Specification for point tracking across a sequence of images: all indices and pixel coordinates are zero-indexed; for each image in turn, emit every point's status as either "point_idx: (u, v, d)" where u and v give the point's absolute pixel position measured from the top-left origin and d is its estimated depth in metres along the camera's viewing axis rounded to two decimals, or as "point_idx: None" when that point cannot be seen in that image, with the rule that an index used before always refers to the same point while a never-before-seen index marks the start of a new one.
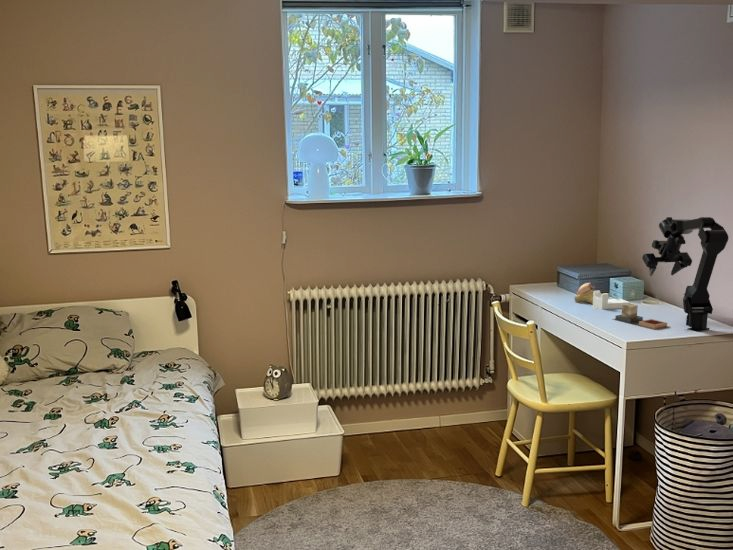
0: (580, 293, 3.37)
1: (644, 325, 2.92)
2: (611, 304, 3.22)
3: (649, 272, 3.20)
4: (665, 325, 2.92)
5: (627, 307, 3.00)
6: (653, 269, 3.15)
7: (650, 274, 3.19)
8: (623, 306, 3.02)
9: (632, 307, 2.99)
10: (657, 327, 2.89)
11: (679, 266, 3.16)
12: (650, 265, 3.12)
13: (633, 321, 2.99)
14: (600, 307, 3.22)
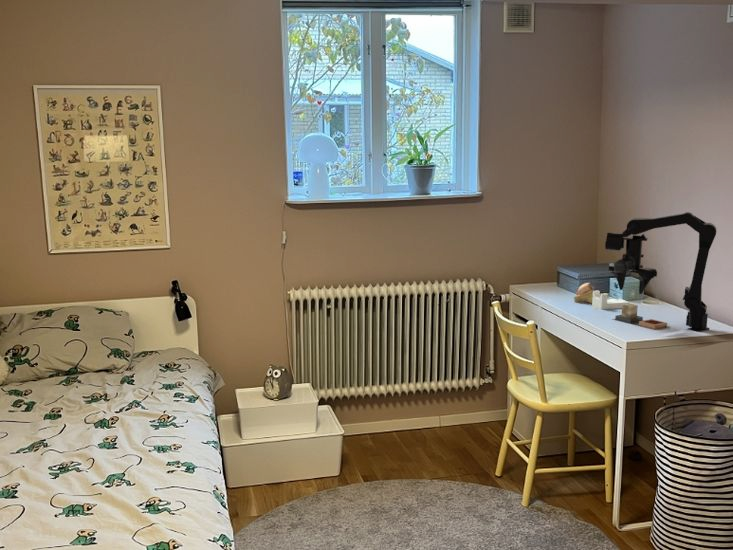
0: (580, 293, 3.37)
1: (644, 325, 2.92)
2: (610, 304, 3.22)
3: (641, 290, 2.96)
4: (665, 325, 2.92)
5: (627, 307, 3.00)
6: None
7: (643, 290, 2.97)
8: (623, 306, 3.02)
9: (632, 307, 2.99)
10: (657, 327, 2.89)
11: (624, 273, 3.05)
12: None
13: (633, 321, 2.99)
14: (599, 307, 3.22)
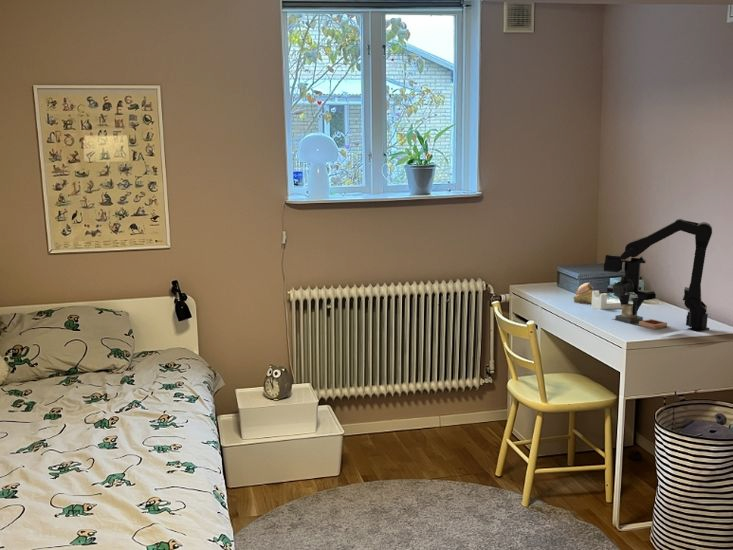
0: (579, 293, 3.37)
1: (644, 325, 2.92)
2: (610, 304, 3.22)
3: (634, 311, 2.99)
4: (665, 325, 2.92)
5: (627, 307, 3.00)
6: None
7: (636, 311, 3.00)
8: (623, 306, 3.02)
9: (632, 307, 2.99)
10: (657, 327, 2.89)
11: (628, 296, 3.04)
12: None
13: (633, 321, 2.99)
14: (599, 307, 3.22)
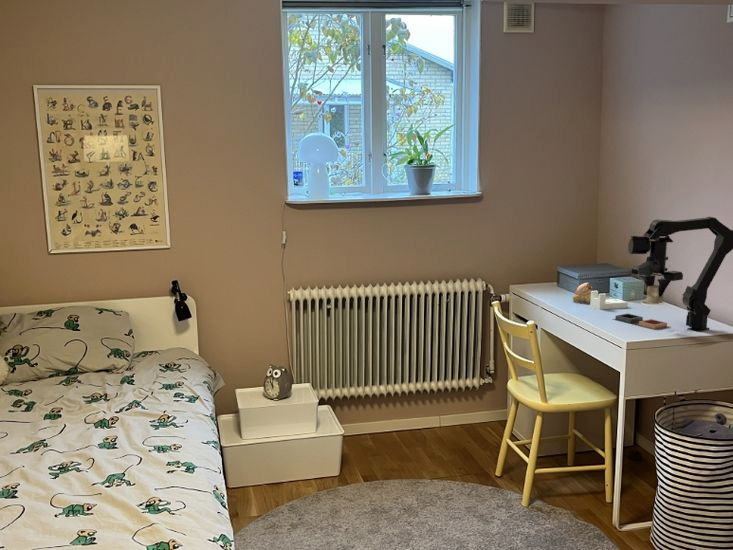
0: (578, 293, 3.37)
1: (644, 325, 2.92)
2: (609, 304, 3.22)
3: (661, 293, 2.89)
4: (665, 325, 2.92)
5: (653, 289, 2.89)
6: None
7: (662, 293, 2.89)
8: (648, 288, 2.91)
9: (658, 289, 2.89)
10: (657, 327, 2.89)
11: (653, 277, 2.93)
12: None
13: (633, 321, 2.99)
14: (598, 307, 3.22)
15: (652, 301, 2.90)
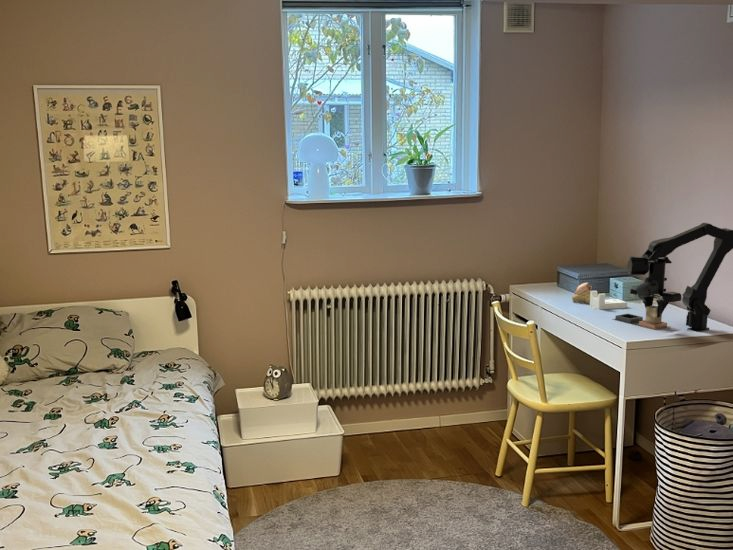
0: (578, 293, 3.37)
1: (644, 325, 2.92)
2: (608, 304, 3.22)
3: (659, 314, 2.90)
4: (665, 325, 2.92)
5: (651, 310, 2.91)
6: None
7: None
8: (647, 308, 2.92)
9: None
10: (657, 327, 2.89)
11: (652, 297, 2.95)
12: None
13: (633, 321, 2.99)
14: (597, 307, 3.22)
15: (651, 321, 2.91)
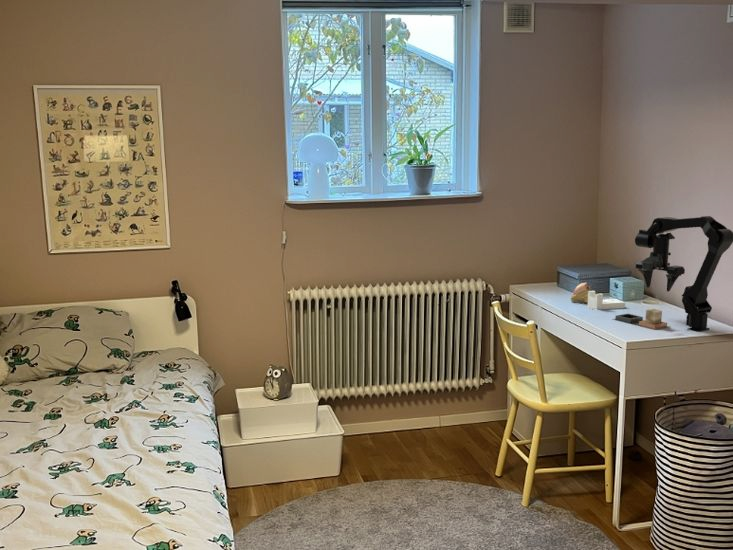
0: (576, 293, 3.37)
1: (644, 325, 2.92)
2: (606, 304, 3.22)
3: (669, 288, 3.01)
4: (665, 325, 2.92)
5: (651, 313, 2.91)
6: None
7: (670, 288, 3.02)
8: (647, 312, 2.92)
9: (656, 313, 2.90)
10: (657, 327, 2.89)
11: (651, 271, 3.10)
12: None
13: (633, 321, 2.99)
14: (595, 307, 3.22)
15: None
